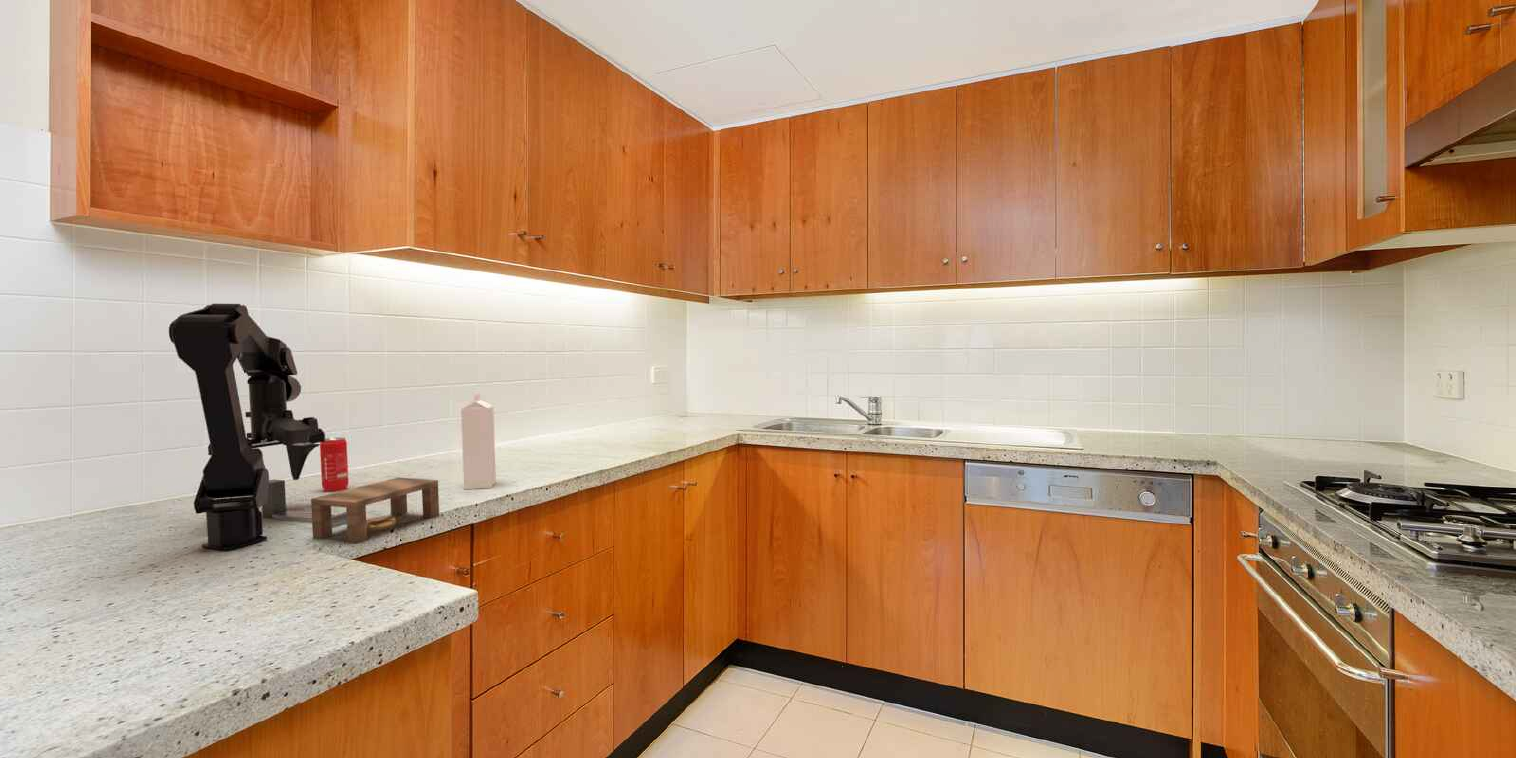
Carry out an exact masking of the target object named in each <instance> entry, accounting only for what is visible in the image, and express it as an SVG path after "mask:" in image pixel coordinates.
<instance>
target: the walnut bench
mask: <svg viewBox="0 0 1516 758" xmlns="http://www.w3.org/2000/svg"><path fill="white" fill-rule="evenodd" d="M418 491H421V495H422V496H421V498H422V502H421V503H422V517H423V518H428V519H429V518H430V519H433V518H436V517H439V516H440V499H439V480H438V479H427V478H426V479H425V478H424V479H423V478H409V477H394V478H390V479H387V480H383V481H379V482H373V483H370V484H366V485H363V486H358V487H353V488H349V489H345V490H341V491H336V492H333V493H329V494H326V495H320V496H318V497H312V498H310V504H311V506H310V507H311V509H310V510H311V513H312V523H311V526H312V539H315V538H316V540H323V538H324V539H326V538H325V537H327V538H329V537H328V536H330V537H333V528H332V518H331V515H332V507H339V508H345V510H346V511H345V512H346V515H347V523H346V533H347V536H346V537H347V543H354V544H357V543H361V542H364V541H367V540H368V530H367V525H366V520H367V509H366V507H367V506H368V505H372V504H375V503H378V502H379V503H380V502H382V501H386V500H390V515H393V516H400V515H404V514H407V513H408V497H407V494H411V493H415V492H418Z"/></svg>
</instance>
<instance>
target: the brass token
mask: <svg viewBox="0 0 1516 758" xmlns="http://www.w3.org/2000/svg"><path fill="white" fill-rule="evenodd" d="M366 525H367V531H380V530H386V529H390V528H393V527H395V526H396V517H395V516H394V515H393V516H391V515H384V516H376V517H371V518H366Z"/></svg>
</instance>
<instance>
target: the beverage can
mask: <svg viewBox="0 0 1516 758" xmlns="http://www.w3.org/2000/svg"><path fill="white" fill-rule="evenodd" d="M319 444H320V445H319V449H320V450H319V452H320V453H319V454H320V455H319V456H320V470H321V488H322V489H323V490H324V492H326V493H328V492H329V493H330V492H331V493H332V492H333V493H335V492H341V491H345V490H348V486H349V466H348V462H349V461H348V444H347V439H346V438H345V437H330V438H329V437H327V438H325V442H319Z"/></svg>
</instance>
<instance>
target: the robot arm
mask: <svg viewBox="0 0 1516 758" xmlns="http://www.w3.org/2000/svg"><path fill="white" fill-rule="evenodd" d="M168 335H169V340H170V341H171V343H172V344H173V345H174V347H175V351H176V353H177V357H178V359H180V361H182V362H183V363H184V364H185V365H187V366H188V367H189V368H190V369H191V370H192V371H194V372H195V378H196V382H197V386H198V391H199V396H200V400H201V406H202V411H203V417H204V420H205V424H206V430H207V436H208V440H209V444H208V446H207V451H208V456H210V458H209V459H208V461H207V462H206V464H205V466H204V468H203V470H202V478H201V481H200V482H199V483H200V484H199V487H198V490H197V492H196V495H195V498H194V501H193V506H194V508H193V509H194V510H195V514H202V513H203V514H204V513H205V515H206V533H207V542H206V543H202V544H201V548H203V549H211V550H219V551H231V550H234V549H238V548H241V547H245V546H248V545H252V544H256V543H260V542H262V541H266V540H268V536H267V535H263V533H264V532H263V531H264V530H263V529H264V528H263V514H262V512H261V511H260V508H262V506H263V505H264V504H266V503H267V501H268V488H269V480H270V474H269V470H268V469H267V468H266V466H265V462H264V455H263V452H262V450H261V449H260V448H265V447H272V446H279V445H283V446H286V447H285V448H286V454H287V457H288V462H289V464H288V465H289V469H290V475H291V477H292V479H293V481H299V479H300V477H301V474H302V471H303V468H304V466H305V462H306V460H307V459H308V456H309V454H310V453H311V452H312V451H313V450H314V449H315V448H317V447H320V443H321V442H325V439H326V433H325V432H324V430H323V429H322V428H319V424H318V423H319V422H318V419H317V418H316V417H314V416H309V417H304V418H302V419H294V413H293V411H292V410H291V409H290V410H289V409H288V408H287V406H288V405H287V403H288V402H292V401H294V400H296V399H297V398H299V396H300V394H301V391H302V385H301V384H300V382H299V380H298V379H297V378H295V377H293V376H298V370H297V366H296V363H295V360H294V357H293V354H292V353H293V352H292V350H291V349H290V347H288V345H287V344H286V343H285V342H284V341H283V340H281V339H279V338H276V337H275V338H274V337H271V336H267V334H266V333H265V332H264V330H262V329H261V327H260V326H259V325H258V324H257V323H256V322H255V320H253V318H252V316H250V315H249V310H248V308H247V306H246V305H244V304H241V303H211V304H207V305H206V306H205V307H203V308H200V309H197V310H194V311H190V312H186V313H183V314H180V315H179V316H178V317H177V318H176V319H174V320H173V321H172V322H171V323H170V324H169V326H168ZM236 360H237V361H238V363H239V365H240V367H241V369H242V371H243V373H244V374H246V375H247V376H248V377H249V378H248V379H247V380H246V383H247V384H248V392H249V396H248V398H249V411H245V412H244V413H245V418H250V431H251V432H246V430H245V429H246V428H245V424H244V419H243V413H242V412H243V411H242V406H241V404H240V403H241V402H240V397H239V390H238V385H237V380H236V377H235V376H236V375H235V370H234V364H235V362H236Z"/></svg>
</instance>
